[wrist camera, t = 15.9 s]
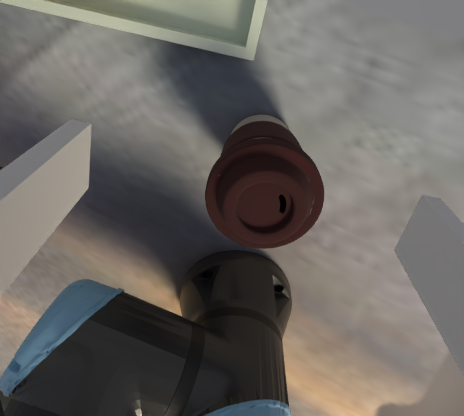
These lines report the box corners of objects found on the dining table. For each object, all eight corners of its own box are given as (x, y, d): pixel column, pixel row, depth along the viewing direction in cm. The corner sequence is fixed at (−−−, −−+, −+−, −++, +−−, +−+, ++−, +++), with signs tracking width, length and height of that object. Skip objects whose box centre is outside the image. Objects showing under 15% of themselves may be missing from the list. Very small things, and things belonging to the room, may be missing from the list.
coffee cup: (202, 161, 46) (183, 230, 33) (242, 84, 42) (238, 127, 29) (276, 197, 48) (286, 276, 35) (322, 127, 44) (353, 186, 31)
